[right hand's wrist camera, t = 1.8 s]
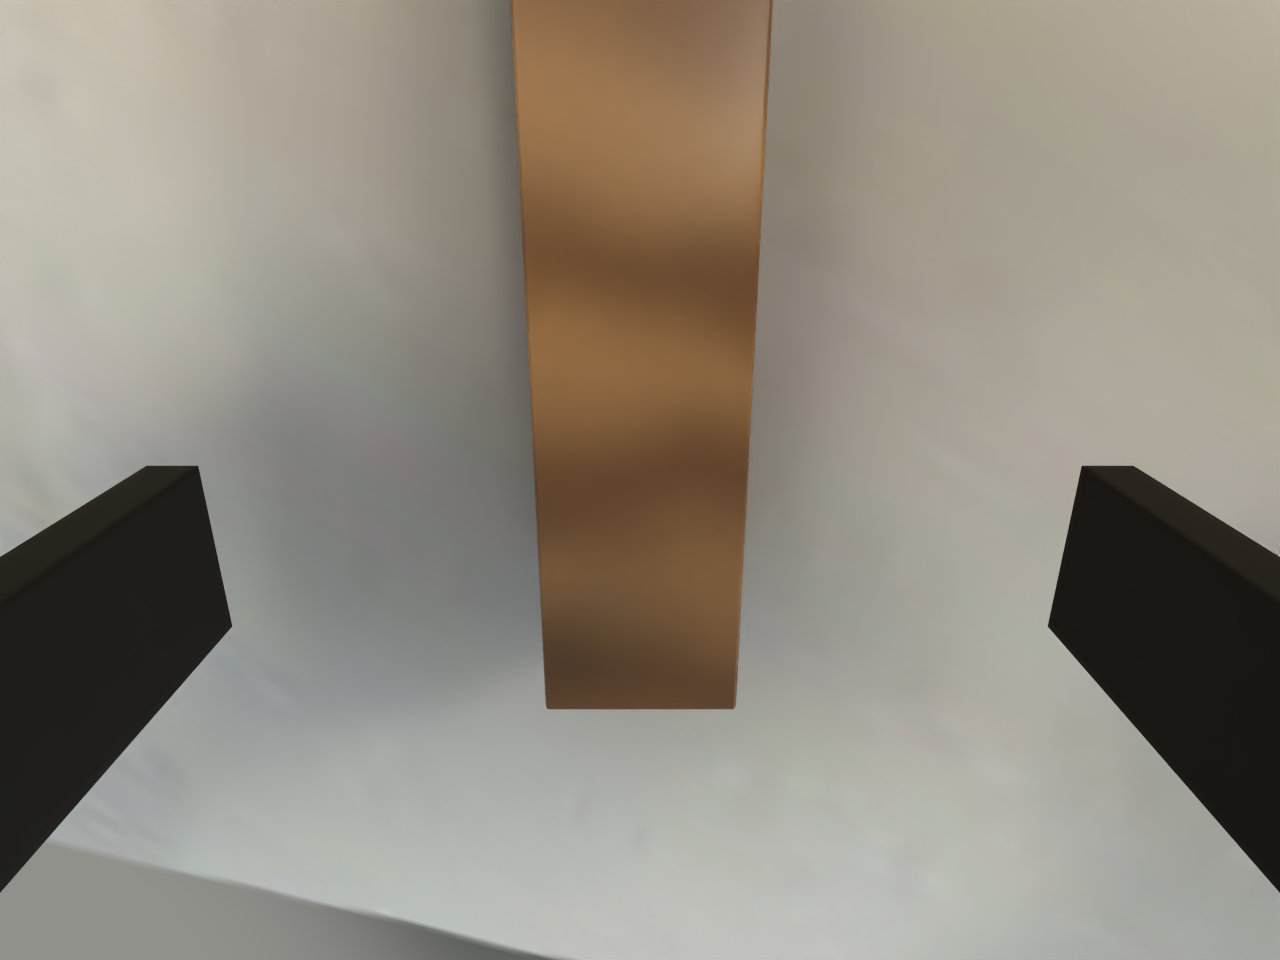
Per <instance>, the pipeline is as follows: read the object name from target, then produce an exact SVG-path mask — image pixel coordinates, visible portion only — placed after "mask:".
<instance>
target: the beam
mask: <svg viewBox="0 0 1280 960" xmlns="http://www.w3.org/2000/svg"><path fill="white" fill-rule="evenodd" d="M772 7H773V0H510V9H511V29H512V48H513V68H514V88H515V107H516V127H517V147H518V166H519V186H520V206H521V226H522V245H523V265H524V285H525V304H526V324H527V344H528V363H529V383H530V403H531V422H532V442H533V462H534V482H535V501H536V521H537V541H538V560H539V580H540V600H541V619H542V639H543V659H544V679H545V698H546V707H547V709H734V708H735V706H736V694H737V675H738V656H739V637H740V618H741V599H742V580H743V561H744V542H745V523H746V503H747V484H748V465H749V446H750V427H751V408H752V389H753V370H754V351H755V332H756V313H757V294H758V275H759V255H760V236H761V217H762V198H763V179H764V160H765V141H766V122H767V103H768V84H769V65H770V46H771V27H772Z"/></svg>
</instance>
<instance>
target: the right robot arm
mask: <svg viewBox="0 0 1280 960" xmlns="http://www.w3.org/2000/svg"><path fill="white" fill-rule="evenodd" d="M231 627H232V623H231V618H230V614H229V609H228V604H227V600H226V595H225V590H224V585H223V581H222V576H221V571H220V567H219V562H218V557H217V553H216V548H215V543H214V538H213V534H212V529H211V524H210V520H209V515H208V510H207V505H206V501H205V496H204V491H203V487H202V482H201V477H200V472H199V468H198V466H146V467H144V468H142V469H141V470H139V471H138V472H136V473H134V474H133V475H131V476H130V477H128V478H126V479H125V480H123V481H121V482H120V483H118V484H117V485H115V486H113V487H112V488H110V489H109V490H107V491H105V492H104V493H102V494H101V495H99V496H97V497H96V498H94V499H93V500H91V501H89V502H88V503H86V504H85V505H83V506H81V507H80V508H78V509H77V510H75V511H73V512H72V513H70V514H69V515H67V516H65V517H64V518H62V519H61V520H59V521H57V522H56V523H54V524H52V525H51V526H49V527H48V528H46V529H44V530H43V531H41V532H40V533H38V534H36V535H35V536H33V537H32V538H30V539H28V540H27V541H25V542H24V543H22V544H20V545H19V546H17V547H16V548H14V549H12V550H11V551H9V552H8V553H6V554H4V555H3V556H1V557H0V892H1V891H2V890H3V889H4V888H5V886H6V885H7V884H8V883H9V882H10V881H11V880H12V878H13V877H14V876H15V875H16V874H17V873H18V872H19V870H20V869H21V868H22V867H23V866H24V865H25V864H26V862H27V861H28V860H29V859H30V858H31V857H32V855H33V854H34V853H35V852H36V851H37V850H38V849H39V847H40V846H41V845H42V844H43V843H44V842H45V841H46V839H47V838H48V837H49V836H50V835H51V834H52V833H53V831H54V830H55V829H56V828H57V827H58V826H59V825H60V823H61V822H62V821H63V820H64V819H65V818H66V816H67V815H68V814H69V813H70V812H71V811H72V810H73V808H74V807H75V806H76V805H77V804H78V803H79V802H80V800H81V799H82V798H83V797H84V796H85V795H86V794H87V792H88V791H89V790H90V789H91V788H92V787H93V785H94V784H95V783H96V782H97V781H98V780H99V779H100V777H101V776H102V775H103V774H104V773H105V772H106V771H107V769H108V768H109V767H110V766H111V765H112V764H113V763H114V761H115V760H116V759H117V758H118V757H119V756H120V755H121V753H122V752H123V751H124V750H125V749H126V748H127V746H128V745H129V744H130V743H131V742H132V741H133V740H134V738H135V737H136V736H137V735H138V734H139V733H140V732H141V730H142V729H143V728H144V727H145V726H146V725H147V724H148V722H149V721H150V720H151V719H152V718H153V717H154V715H155V714H156V713H157V712H158V711H159V710H160V709H161V707H162V706H163V705H164V704H165V703H166V702H167V701H168V699H169V698H170V697H171V696H172V695H173V694H174V693H175V691H176V690H177V689H178V688H179V687H180V686H181V685H182V683H183V682H184V681H185V680H186V679H187V678H188V676H189V675H190V674H191V673H192V672H193V671H194V670H195V668H196V667H197V666H198V665H199V664H200V663H201V662H202V660H203V659H204V658H205V657H206V656H207V655H208V654H209V652H210V651H211V650H212V649H213V648H214V647H215V646H216V644H217V643H218V642H219V641H220V640H221V639H222V637H223V636H224V635H225V634H226V633H227V632H228V631H229V629H230V628H231ZM1048 627H1049V628H1050V629H1051V631H1052V632H1053V633H1054V634H1055V635H1056V636H1057V637H1058V639H1059V640H1060V641H1061V642H1062V643H1063V644H1064V646H1065V647H1066V648H1067V649H1068V650H1069V651H1070V652H1071V654H1072V655H1073V656H1074V657H1075V658H1076V659H1077V660H1078V662H1079V663H1080V664H1081V665H1082V666H1083V667H1084V668H1085V670H1086V671H1087V672H1088V673H1089V674H1090V675H1091V676H1092V678H1093V679H1094V680H1095V681H1096V682H1097V683H1098V685H1099V686H1100V687H1101V688H1102V689H1103V690H1104V691H1105V693H1106V694H1107V695H1108V696H1109V697H1110V698H1111V699H1112V701H1113V702H1114V703H1115V704H1116V705H1117V706H1118V707H1119V709H1120V710H1121V711H1122V712H1123V713H1124V714H1125V716H1126V717H1127V718H1128V719H1129V720H1130V721H1131V722H1132V724H1133V725H1134V726H1135V727H1136V728H1137V729H1138V730H1139V732H1140V733H1141V734H1142V735H1143V736H1144V737H1145V738H1146V740H1147V741H1148V742H1149V743H1150V744H1151V745H1152V746H1153V748H1154V749H1155V750H1156V751H1157V752H1158V753H1159V755H1160V756H1161V757H1162V758H1163V759H1164V760H1165V761H1166V763H1167V764H1168V765H1169V766H1170V767H1171V768H1172V769H1173V771H1174V772H1175V773H1176V774H1177V775H1178V776H1179V777H1180V779H1181V780H1182V781H1183V782H1184V783H1185V784H1186V785H1187V787H1188V788H1189V789H1190V790H1191V791H1192V792H1193V794H1194V795H1195V796H1196V797H1197V798H1198V799H1199V800H1200V802H1201V803H1202V804H1203V805H1204V806H1205V807H1206V808H1207V810H1208V811H1209V812H1210V813H1211V814H1212V815H1213V816H1214V818H1215V819H1216V820H1217V821H1218V822H1219V823H1220V825H1221V826H1222V827H1223V828H1224V829H1225V830H1226V831H1227V833H1228V834H1229V835H1230V836H1231V837H1232V838H1233V839H1234V841H1235V842H1236V843H1237V844H1238V845H1239V846H1240V847H1241V849H1242V850H1243V851H1244V852H1245V853H1246V854H1247V855H1248V857H1249V858H1250V859H1251V860H1252V861H1253V862H1254V864H1255V865H1256V866H1257V867H1258V868H1259V869H1260V870H1261V872H1262V873H1263V874H1264V875H1265V876H1266V877H1267V878H1268V880H1269V881H1270V882H1271V883H1272V884H1273V885H1274V886H1275V888H1276V889H1277V890H1278V891H1279V892H1280V557H1279V556H1277V555H1276V554H1274V553H1272V552H1271V551H1269V550H1268V549H1266V548H1264V547H1263V546H1261V545H1260V544H1258V543H1256V542H1255V541H1253V540H1252V539H1250V538H1248V537H1247V536H1245V535H1244V534H1242V533H1240V532H1239V531H1237V530H1236V529H1234V528H1232V527H1231V526H1229V525H1228V524H1226V523H1224V522H1223V521H1221V520H1219V519H1218V518H1216V517H1215V516H1213V515H1211V514H1210V513H1208V512H1207V511H1205V510H1203V509H1202V508H1200V507H1199V506H1197V505H1195V504H1194V503H1192V502H1191V501H1189V500H1187V499H1186V498H1184V497H1183V496H1181V495H1179V494H1178V493H1176V492H1175V491H1173V490H1171V489H1170V488H1168V487H1167V486H1165V485H1163V484H1162V483H1160V482H1159V481H1157V480H1155V479H1154V478H1152V477H1150V476H1149V475H1147V474H1146V473H1144V472H1142V471H1141V470H1139V469H1138V468H1136V467H1134V466H1082V468H1081V472H1080V477H1079V482H1078V487H1077V491H1076V496H1075V501H1074V505H1073V510H1072V515H1071V520H1070V524H1069V529H1068V534H1067V538H1066V543H1065V548H1064V553H1063V557H1062V562H1061V567H1060V571H1059V576H1058V581H1057V585H1056V590H1055V595H1054V600H1053V604H1052V609H1051V614H1050V618H1049V623H1048Z"/></svg>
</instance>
